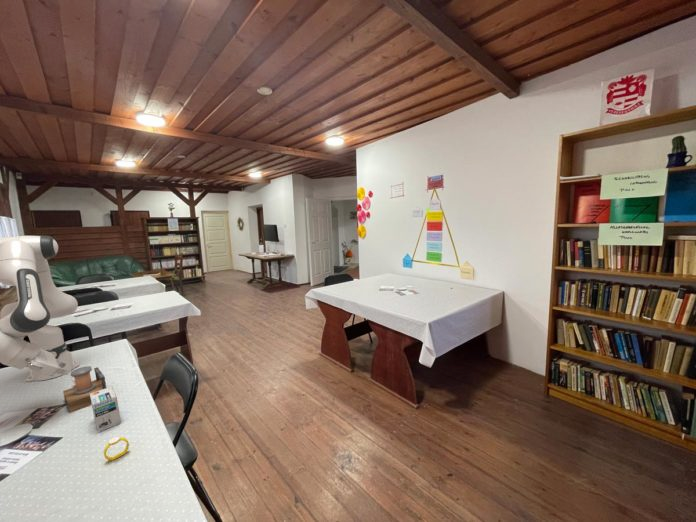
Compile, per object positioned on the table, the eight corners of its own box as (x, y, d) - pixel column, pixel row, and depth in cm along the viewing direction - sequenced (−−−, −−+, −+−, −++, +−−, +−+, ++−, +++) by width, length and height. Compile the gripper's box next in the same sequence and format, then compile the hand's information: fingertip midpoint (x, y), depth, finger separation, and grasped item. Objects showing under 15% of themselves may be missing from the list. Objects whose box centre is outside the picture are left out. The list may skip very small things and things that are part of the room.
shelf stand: (64, 399, 121) (60, 378, 119) (101, 386, 130) (98, 366, 129) (70, 412, 112) (65, 390, 111) (109, 397, 121) (105, 376, 120)
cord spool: (73, 391, 120) (69, 371, 118) (93, 384, 125) (89, 364, 123) (76, 396, 116) (71, 376, 114) (96, 389, 121) (92, 369, 119)
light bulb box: (121, 423, 105) (117, 396, 103) (97, 433, 100) (92, 405, 98) (116, 410, 112) (112, 385, 110) (94, 419, 107) (89, 393, 106)
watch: (128, 448, 92) (126, 431, 92) (130, 452, 91) (128, 435, 90) (104, 460, 88) (101, 442, 87) (106, 465, 86) (103, 447, 85)
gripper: (35, 355, 101) (77, 369, 110) (30, 341, 114) (68, 355, 123) (19, 372, 99) (63, 385, 108) (16, 356, 112) (56, 369, 120)
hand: (66, 369), depth 116 cm, fingers open, 8 cm apart
